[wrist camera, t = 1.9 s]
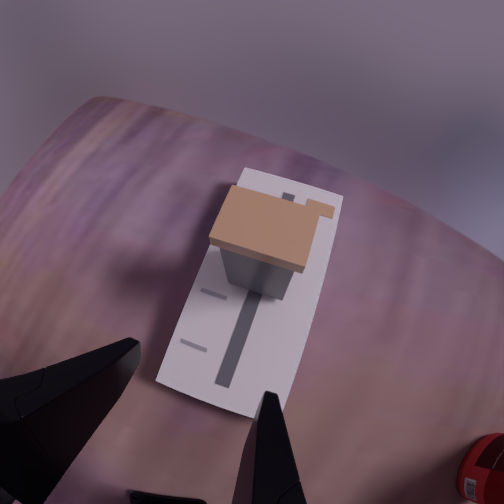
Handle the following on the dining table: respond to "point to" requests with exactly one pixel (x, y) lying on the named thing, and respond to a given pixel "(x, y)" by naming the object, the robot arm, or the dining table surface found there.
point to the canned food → (483, 471)
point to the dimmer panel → (249, 317)
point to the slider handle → (263, 240)
